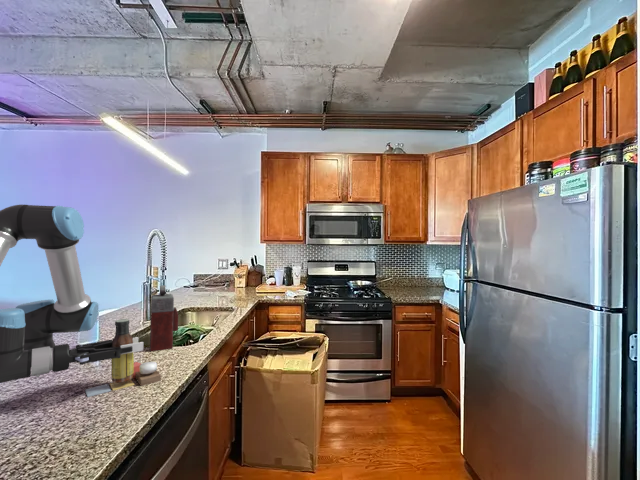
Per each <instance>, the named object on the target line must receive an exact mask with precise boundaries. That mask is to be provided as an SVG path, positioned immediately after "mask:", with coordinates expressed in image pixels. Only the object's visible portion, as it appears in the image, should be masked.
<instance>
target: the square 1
mask: <svg viewBox="0 0 640 480" xmlns="http://www.w3.org/2000/svg"><path fill="white" fill-rule="evenodd" d="M84 391H85V394H86V397H87V398H90V397H94V396H98V395H102V394H106V393H109V392H112V388H111V386H110V384H108V383H106V384H102V385H98V386H93V387H90V388H86V389H85V390H84Z"/></svg>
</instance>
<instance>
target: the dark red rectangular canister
mask: <svg viewBox="0 0 640 480" xmlns="http://www.w3.org/2000/svg"><path fill="white" fill-rule="evenodd" d="M166 287H167V286H166V285H161V284H160V285H159V294H152V295H151V296H150V323H149V324H150V325H149V326H150V331H149V352H151V353H152V352H156V351H157V352H159V351H164V350H165V351H166V350H172V349H173V345H174V344H173V343H174V332H178V331H179V313H178V309H177V307H175V306H174V305H175V302H174V301H175V297H174V295H173V294H172V293H167V294H166V291H167V290H166Z"/></svg>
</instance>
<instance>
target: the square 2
mask: <svg viewBox="0 0 640 480" xmlns="http://www.w3.org/2000/svg"><path fill="white" fill-rule="evenodd" d="M133 386H135V383H134V382H133V380H132V379H131V380H129V381H126V382H121V383H115V382H110V383H109V387H110V389H111V391H118V390H121V389H125V388H129V387H133Z"/></svg>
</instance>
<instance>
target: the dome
mask: <svg viewBox="0 0 640 480" xmlns="http://www.w3.org/2000/svg"><path fill="white" fill-rule="evenodd" d="M157 364H158V363H157V362H156V361H146V362H143V363H141V365H140V373H141V374H149V373H153V372H155V371H156V370H157V369H158V365H157ZM157 371H158V370H157Z"/></svg>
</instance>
